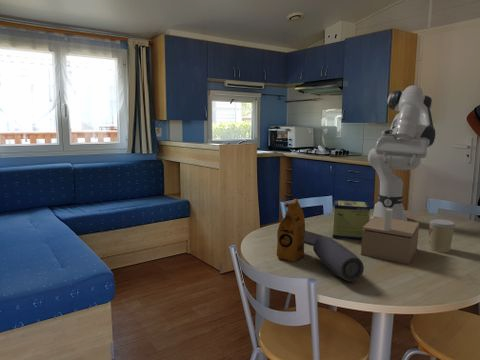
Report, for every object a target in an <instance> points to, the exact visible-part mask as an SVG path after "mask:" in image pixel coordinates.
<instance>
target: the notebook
mask: <svg viewBox="0 0 480 360" xmlns="http://www.w3.org/2000/svg"><path fill="white" fill-rule="evenodd" d="M322 236H324V235H322V234H319V233H316V232H311V231H307V230H305V239H304V245H305V244H306V245H308V246H312V247H313V246H314V243H315V241H316V240H317V239H318V238H320V237H322ZM328 237H329V238H331V239H333V237H330V236H328Z"/></svg>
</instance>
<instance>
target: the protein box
mask: <svg viewBox="0 0 480 360" xmlns="http://www.w3.org/2000/svg"><path fill="white" fill-rule="evenodd" d="M332 211H333V212H332V213H333V214H332V227H331V228H332V229H331V234H332V239H339V240H340V239H343V240H355V241H362V231H363V230H364V229H363V226H365V225H366V224H367V223H368V222H369V221H370V212H371V207H370V205H369V203H368V202H367V201H354V200H353V201H352V200H351V201H350V200H333V209H332Z"/></svg>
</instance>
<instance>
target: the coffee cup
mask: <svg viewBox="0 0 480 360" xmlns="http://www.w3.org/2000/svg"><path fill="white" fill-rule="evenodd" d="M455 226H456V224H455V223H454V222H453V221H451V220H447V219H442V218H441V219H440V218H432V219H430V221H429V232H428V233H429V236H428V237H429V239H428V240H429V241H428V249H429V250H431V251H433V252H437V253H443V254H446V253H449V252H450V250H451V247H452V240H453V236H454V230H455Z"/></svg>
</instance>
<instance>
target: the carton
mask: <svg viewBox="0 0 480 360" xmlns="http://www.w3.org/2000/svg"><path fill="white" fill-rule="evenodd" d="M419 230H420V225H419V226H418V228H417V229H416V231H415V233H414V235H413V236H412V237H407V236H401V235H395V234H388V233H382V232H376V231H370V230H363V231H362V240H361V247H360V249H361V250H360V255H361V256H366V257H372V258H375V259H376V258H377V259H380V260H386V261H390V262H391V261H392V262H396V263H400V264H401V263H402V264H405V265H406V264H407V265H410V264H411V262H412V260H413V258H414V256H415V254H416V252H417V250H418V241H419V240H418V239H419Z"/></svg>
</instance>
